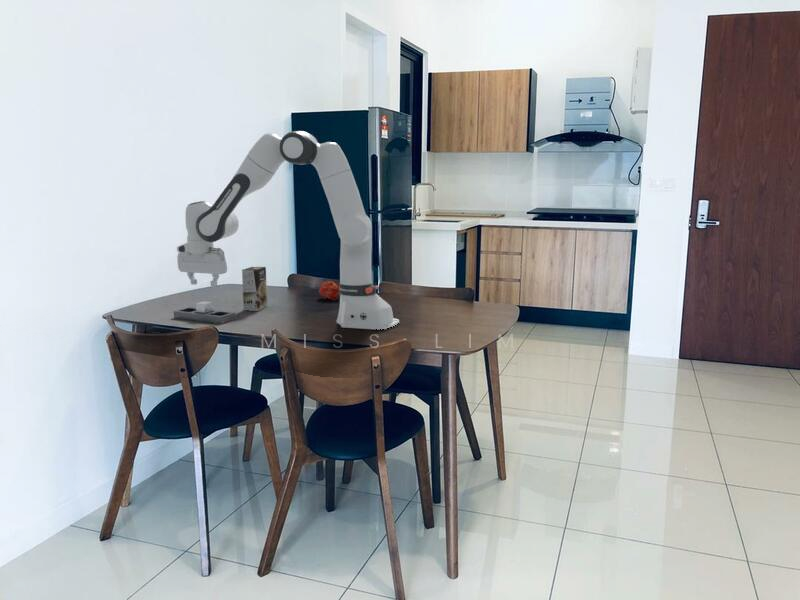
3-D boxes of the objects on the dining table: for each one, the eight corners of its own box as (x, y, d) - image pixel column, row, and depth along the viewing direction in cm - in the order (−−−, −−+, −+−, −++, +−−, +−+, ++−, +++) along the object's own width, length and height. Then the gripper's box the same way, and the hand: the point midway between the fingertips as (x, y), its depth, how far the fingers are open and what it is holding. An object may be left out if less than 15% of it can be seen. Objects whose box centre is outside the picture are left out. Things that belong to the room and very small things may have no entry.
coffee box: (258, 311, 246) (256, 270, 242) (243, 310, 247) (241, 269, 244) (268, 306, 254) (266, 266, 251) (253, 305, 256) (251, 266, 252)
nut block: (213, 318, 235) (212, 302, 233) (205, 320, 231) (204, 304, 230) (204, 317, 236) (203, 301, 235) (196, 319, 233) (195, 303, 232)
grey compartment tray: (235, 319, 233) (235, 312, 232) (220, 323, 226) (220, 317, 225) (189, 313, 242) (189, 307, 241) (174, 317, 235) (173, 311, 234)
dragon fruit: (319, 300, 273) (342, 307, 268) (310, 292, 266) (333, 299, 261) (328, 283, 276) (351, 290, 270) (319, 274, 269) (342, 281, 263)
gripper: (229, 247, 227) (232, 285, 230) (185, 245, 236) (189, 282, 238) (217, 249, 221) (220, 288, 224) (173, 247, 230) (176, 285, 233)
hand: (203, 285), depth 231 cm, fingers open, 8 cm apart
